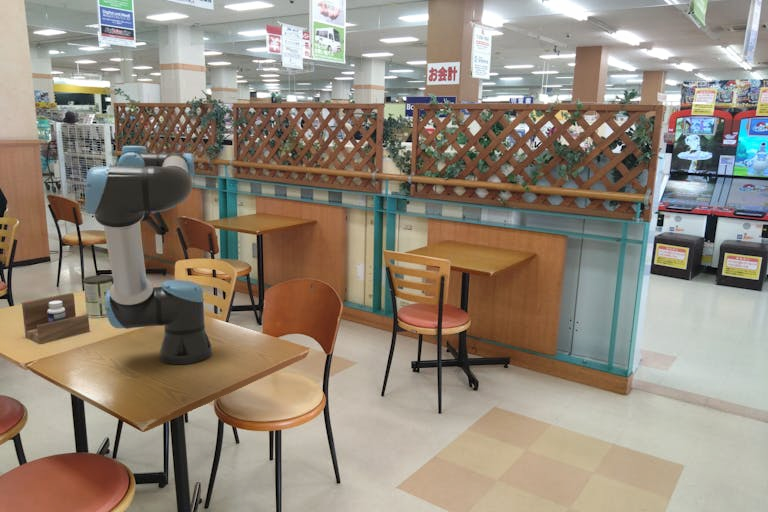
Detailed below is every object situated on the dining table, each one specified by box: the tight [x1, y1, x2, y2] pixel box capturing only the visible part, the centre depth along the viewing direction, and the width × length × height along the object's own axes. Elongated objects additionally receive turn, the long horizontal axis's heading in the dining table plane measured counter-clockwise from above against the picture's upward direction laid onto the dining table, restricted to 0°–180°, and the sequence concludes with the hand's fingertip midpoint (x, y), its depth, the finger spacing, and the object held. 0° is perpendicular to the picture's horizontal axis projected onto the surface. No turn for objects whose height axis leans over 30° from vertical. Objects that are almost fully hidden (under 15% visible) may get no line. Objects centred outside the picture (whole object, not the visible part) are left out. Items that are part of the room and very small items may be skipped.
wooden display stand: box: [21, 292, 91, 345], centre depth 192 cm, size 11×16×12 cm, turn 144°
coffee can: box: [82, 274, 114, 319], centre depth 215 cm, size 10×10×14 cm
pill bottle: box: [47, 301, 66, 323], centre depth 192 cm, size 5×5×9 cm
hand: (141, 256), depth 192 cm, fingers open, 13 cm apart
